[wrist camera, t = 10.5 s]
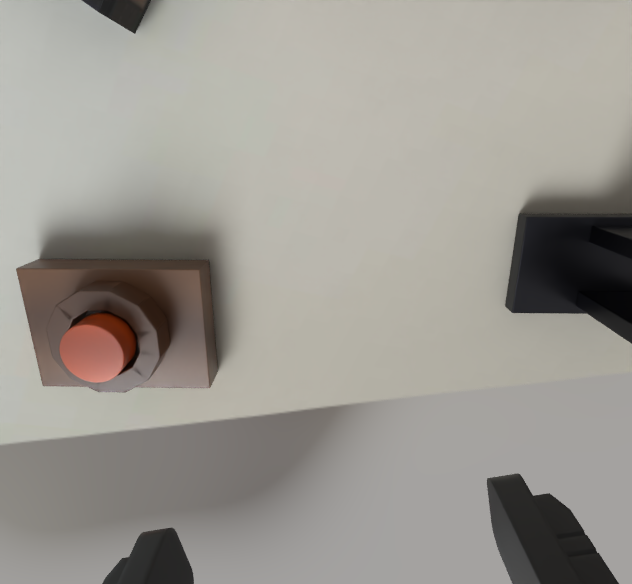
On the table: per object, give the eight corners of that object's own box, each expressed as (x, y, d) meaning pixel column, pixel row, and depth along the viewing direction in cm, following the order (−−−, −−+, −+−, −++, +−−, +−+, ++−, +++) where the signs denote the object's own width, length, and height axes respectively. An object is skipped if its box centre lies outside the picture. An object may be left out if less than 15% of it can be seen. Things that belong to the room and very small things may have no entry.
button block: (218, 371, 31) (203, 404, 27) (61, 369, 31) (24, 401, 27) (209, 260, 28) (190, 278, 24) (38, 258, 28) (-6, 277, 25)
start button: (140, 368, 27) (128, 383, 25) (81, 367, 27) (65, 382, 25) (132, 312, 26) (119, 324, 24) (70, 312, 26) (53, 323, 24)
